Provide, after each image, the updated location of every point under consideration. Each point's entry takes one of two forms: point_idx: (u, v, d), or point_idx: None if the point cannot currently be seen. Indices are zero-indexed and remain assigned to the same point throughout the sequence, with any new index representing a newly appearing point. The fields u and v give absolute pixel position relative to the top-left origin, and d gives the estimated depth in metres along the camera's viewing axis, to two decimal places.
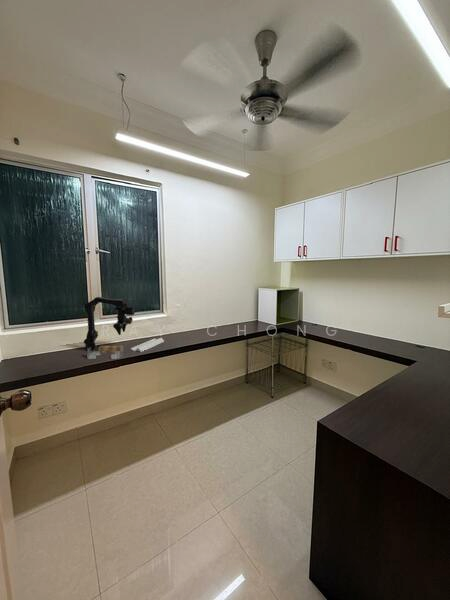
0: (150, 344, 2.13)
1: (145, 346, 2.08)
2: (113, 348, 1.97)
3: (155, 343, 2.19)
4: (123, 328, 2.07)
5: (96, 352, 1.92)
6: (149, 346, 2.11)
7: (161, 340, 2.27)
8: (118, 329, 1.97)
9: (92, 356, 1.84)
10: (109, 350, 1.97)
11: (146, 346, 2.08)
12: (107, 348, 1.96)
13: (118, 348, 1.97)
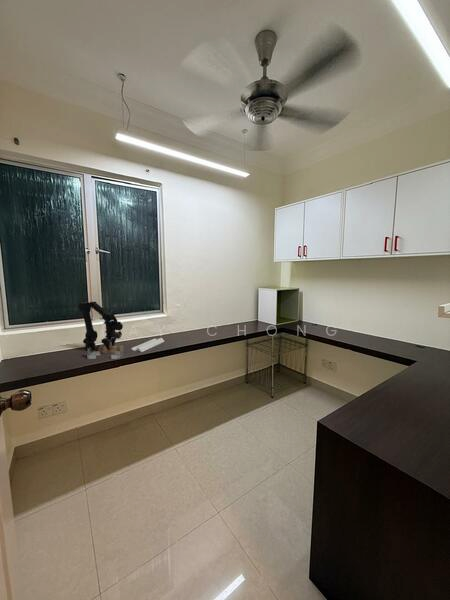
0: (150, 344, 2.13)
1: (145, 346, 2.07)
2: (113, 348, 1.97)
3: (156, 343, 2.19)
4: (112, 342, 2.03)
5: (96, 352, 1.92)
6: (149, 346, 2.11)
7: (161, 340, 2.27)
8: (106, 344, 1.92)
9: (92, 356, 1.84)
10: (109, 350, 1.97)
11: (146, 346, 2.08)
12: None
13: (118, 348, 1.97)
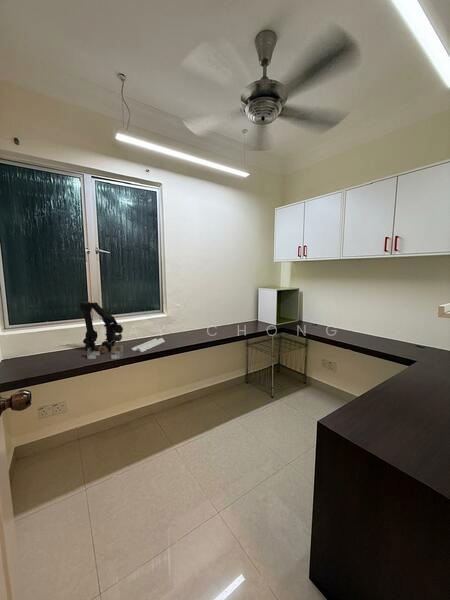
0: (150, 344, 2.13)
1: (145, 346, 2.07)
2: (113, 348, 1.96)
3: (156, 343, 2.19)
4: None
5: (96, 352, 1.92)
6: (149, 346, 2.10)
7: (162, 340, 2.27)
8: (108, 346, 1.95)
9: (92, 356, 1.84)
10: None
11: (146, 346, 2.08)
12: None
13: (118, 348, 1.96)
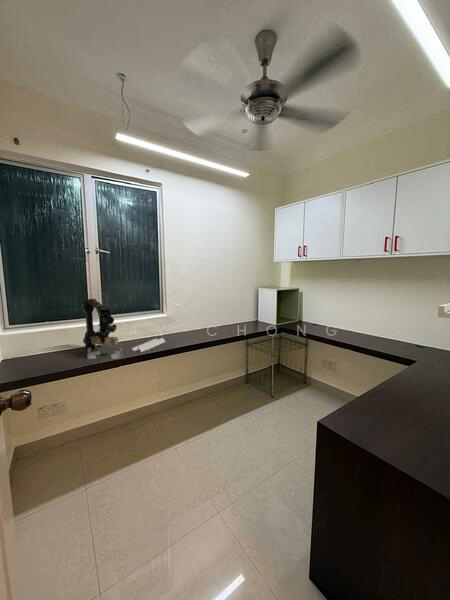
0: (151, 344, 2.13)
1: (146, 346, 2.07)
2: (107, 339, 1.85)
3: (156, 343, 2.19)
4: None
5: (96, 352, 1.92)
6: (150, 346, 2.10)
7: (162, 340, 2.26)
8: (101, 337, 1.83)
9: (92, 356, 1.84)
10: None
11: (147, 346, 2.08)
12: None
13: (112, 339, 1.85)
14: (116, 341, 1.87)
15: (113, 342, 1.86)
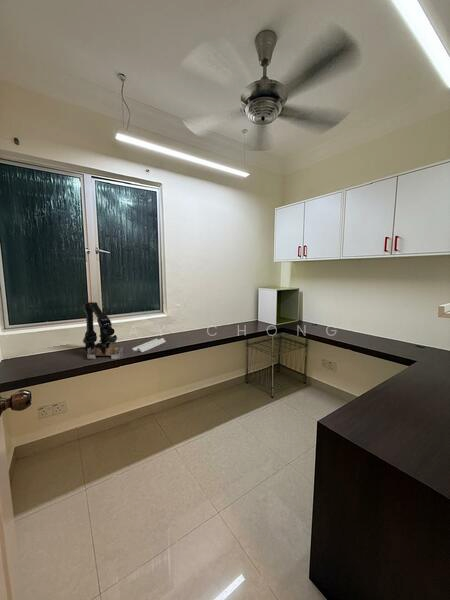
0: (151, 344, 2.13)
1: (146, 346, 2.07)
2: (107, 350, 1.86)
3: (157, 343, 2.18)
4: None
5: None
6: (150, 346, 2.10)
7: (163, 340, 2.26)
8: (102, 348, 1.85)
9: (92, 356, 1.84)
10: None
11: (147, 346, 2.08)
12: None
13: (113, 350, 1.86)
14: (117, 352, 1.88)
15: (114, 353, 1.87)
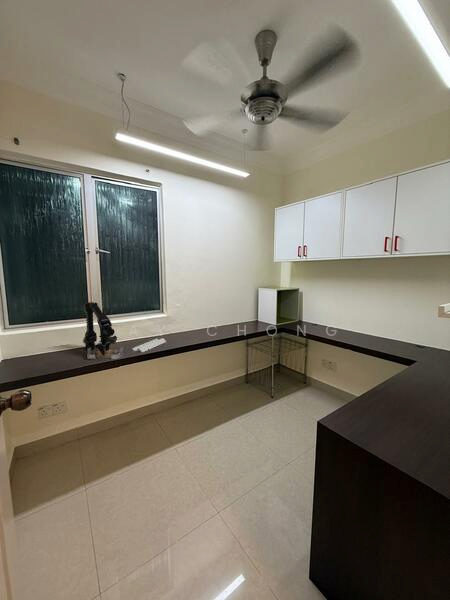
0: (151, 344, 2.13)
1: (146, 346, 2.07)
2: (108, 352, 1.87)
3: (157, 343, 2.18)
4: (107, 348, 1.92)
5: None
6: (150, 346, 2.10)
7: (163, 340, 2.26)
8: (101, 349, 1.83)
9: (92, 356, 1.84)
10: None
11: (147, 346, 2.08)
12: None
13: (113, 352, 1.87)
14: None
15: None
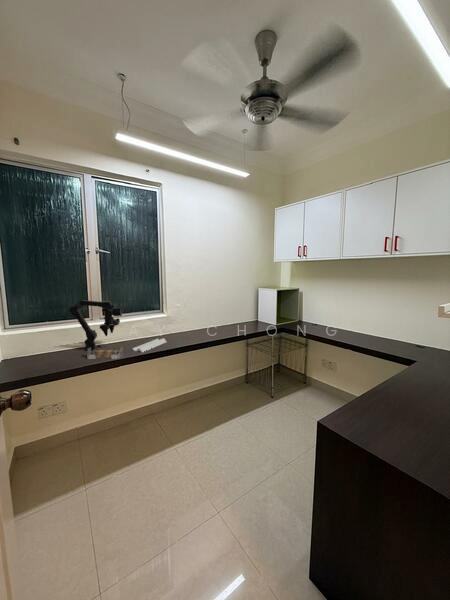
0: (152, 344, 2.12)
1: (146, 346, 2.07)
2: (107, 352, 1.87)
3: (157, 343, 2.18)
4: (111, 329, 2.11)
5: None
6: (151, 346, 2.10)
7: (163, 341, 2.25)
8: (105, 330, 2.00)
9: (92, 356, 1.84)
10: (103, 354, 1.87)
11: (147, 346, 2.07)
12: (101, 352, 1.87)
13: (112, 353, 1.86)
14: None
15: None
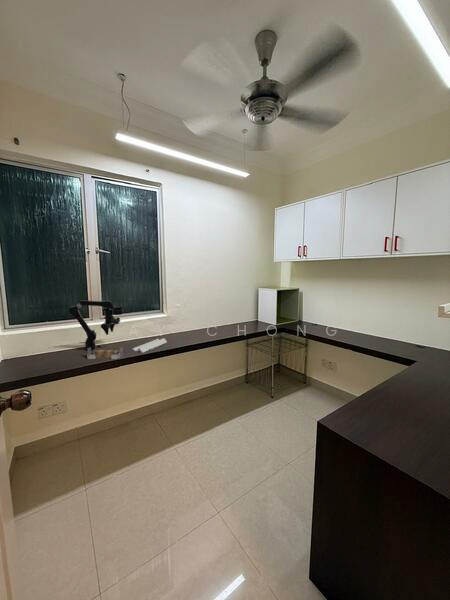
0: (152, 344, 2.12)
1: (147, 346, 2.06)
2: (107, 352, 1.87)
3: (158, 343, 2.18)
4: (111, 328, 2.14)
5: None
6: (151, 346, 2.09)
7: (164, 341, 2.25)
8: (106, 329, 2.04)
9: (92, 356, 1.84)
10: (103, 354, 1.87)
11: (148, 346, 2.07)
12: (101, 352, 1.87)
13: (112, 353, 1.86)
14: None
15: None
